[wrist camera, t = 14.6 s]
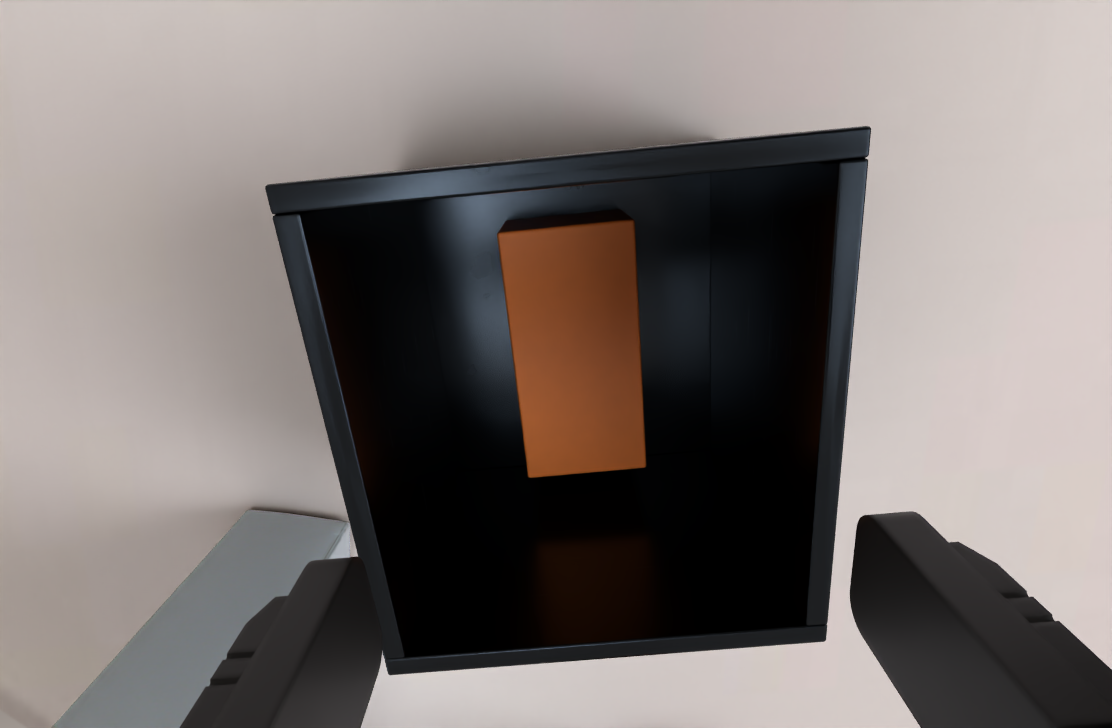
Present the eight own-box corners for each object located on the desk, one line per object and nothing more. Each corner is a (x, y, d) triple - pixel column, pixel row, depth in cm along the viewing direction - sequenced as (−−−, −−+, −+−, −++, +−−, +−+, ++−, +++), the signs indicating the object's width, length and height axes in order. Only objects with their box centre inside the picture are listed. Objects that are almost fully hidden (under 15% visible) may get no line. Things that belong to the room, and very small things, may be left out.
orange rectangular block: (504, 220, 22) (496, 232, 18) (621, 208, 22) (635, 218, 18) (531, 434, 25) (527, 479, 21) (633, 425, 25) (646, 468, 21)
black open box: (396, 170, 22) (262, 184, 12) (720, 138, 21) (872, 125, 11) (450, 474, 26) (388, 676, 16) (718, 451, 26) (827, 642, 16)
